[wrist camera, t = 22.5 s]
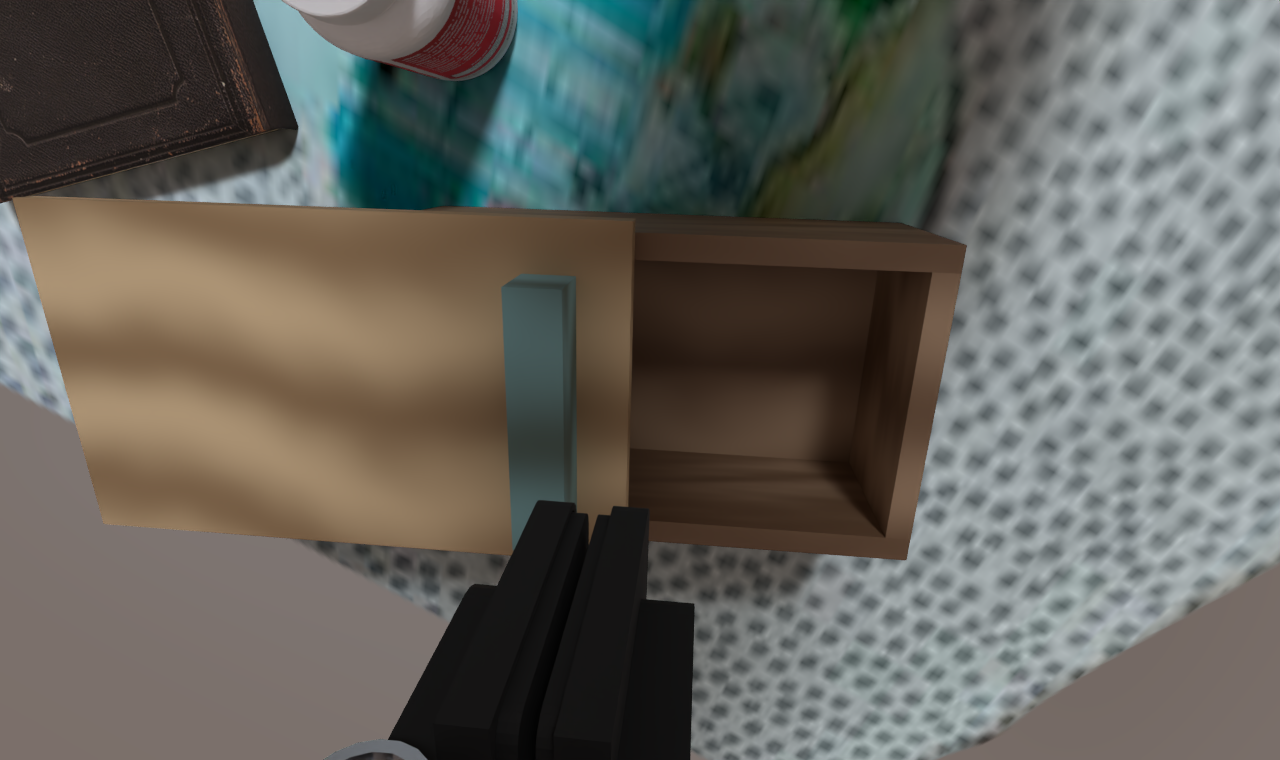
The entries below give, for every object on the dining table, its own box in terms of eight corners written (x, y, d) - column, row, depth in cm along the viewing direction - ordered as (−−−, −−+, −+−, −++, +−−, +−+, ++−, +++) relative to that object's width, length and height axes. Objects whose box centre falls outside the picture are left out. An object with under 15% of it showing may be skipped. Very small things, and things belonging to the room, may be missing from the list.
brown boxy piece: (443, 205, 32) (363, 221, 24) (900, 222, 30) (966, 245, 23) (459, 445, 36) (396, 521, 29) (861, 471, 35) (906, 560, 27)
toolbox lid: (106, 191, 28) (-63, 202, 22) (642, 211, 26) (624, 229, 20) (174, 480, 33) (50, 556, 26) (634, 513, 31) (617, 603, 25)
